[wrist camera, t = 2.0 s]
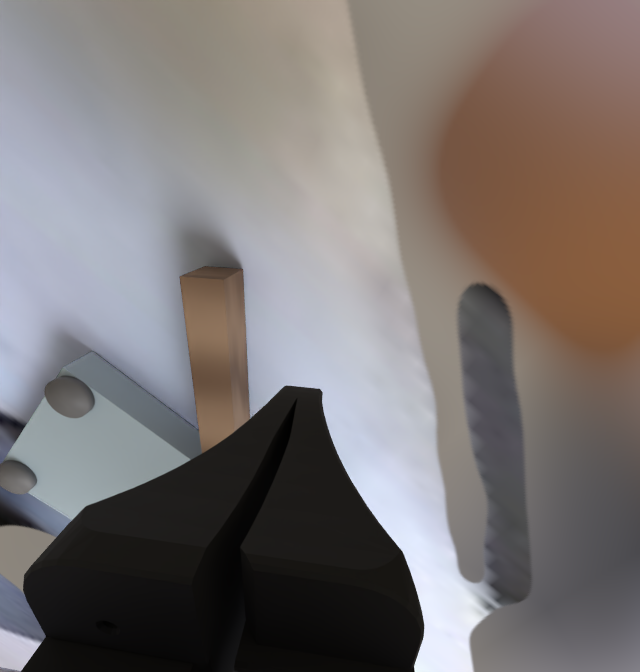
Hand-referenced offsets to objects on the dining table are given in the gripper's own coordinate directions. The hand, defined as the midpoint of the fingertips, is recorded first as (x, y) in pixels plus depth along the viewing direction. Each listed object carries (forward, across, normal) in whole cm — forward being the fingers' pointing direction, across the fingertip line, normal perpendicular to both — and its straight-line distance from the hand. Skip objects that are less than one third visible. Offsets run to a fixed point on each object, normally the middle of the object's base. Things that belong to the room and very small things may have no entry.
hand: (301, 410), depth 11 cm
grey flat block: (+10, +17, +13) cm, 23 cm away
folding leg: (+9, +6, +4) cm, 12 cm away
